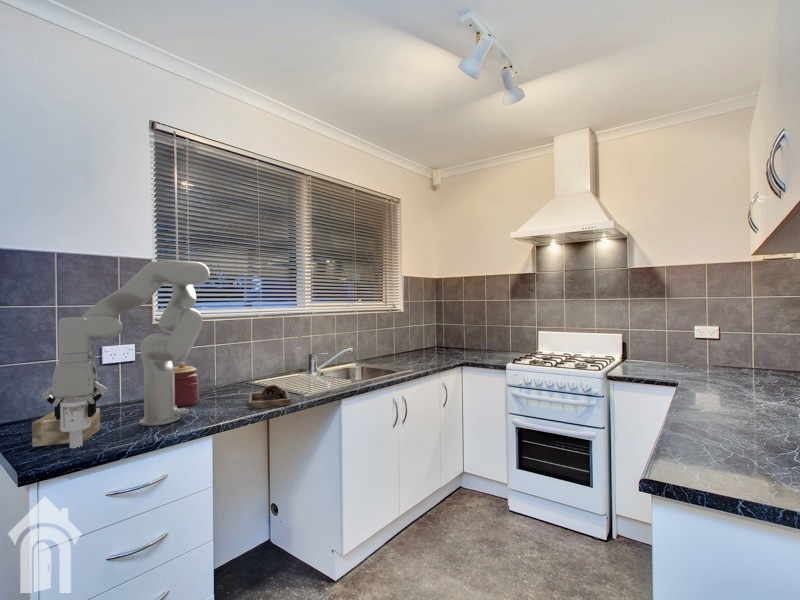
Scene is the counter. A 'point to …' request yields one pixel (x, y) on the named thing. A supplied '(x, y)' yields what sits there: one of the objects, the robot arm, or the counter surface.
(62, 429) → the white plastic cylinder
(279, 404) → the wooden tray
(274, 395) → the dark brown rounded lump
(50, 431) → the beech holder block
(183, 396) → the canister
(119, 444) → the counter surface
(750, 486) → the counter surface
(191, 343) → the robot arm
